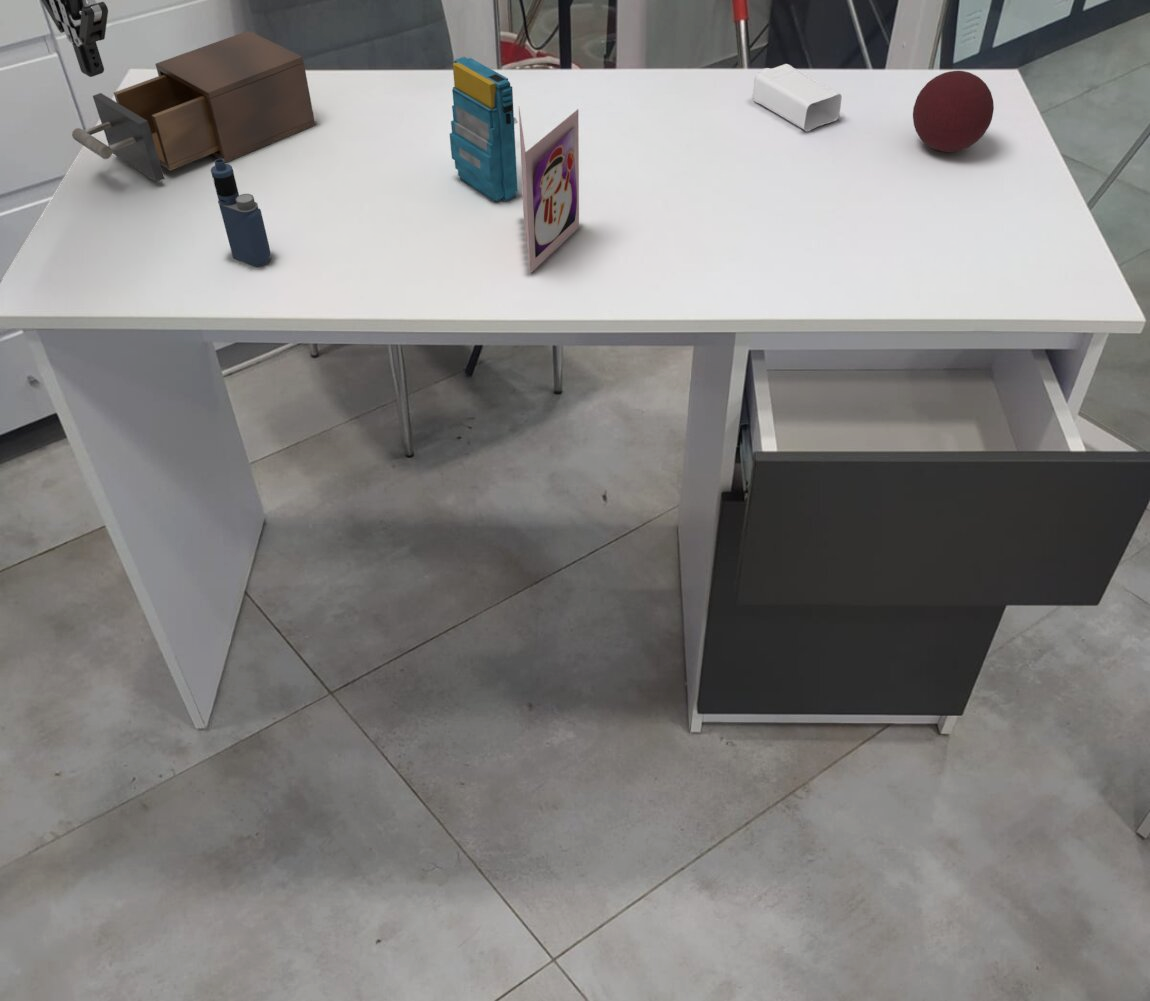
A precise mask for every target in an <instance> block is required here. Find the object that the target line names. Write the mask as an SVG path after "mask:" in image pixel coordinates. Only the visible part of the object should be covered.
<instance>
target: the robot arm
mask: <svg viewBox="0 0 1150 1001" xmlns="http://www.w3.org/2000/svg"><path fill="white" fill-rule="evenodd" d="M41 3H42V4H43V6H44V8H45V9H46V12H47V13H48V14H49V16H50V18H51V20H52V21H53V24H54V25H55V26H56V28H57V31H59V33H61V34H63V33H64V34H65V36H66V39H67V41H68V42H69V43H70V44H72V47H73V52H74V54H75V58H76V59H77V60H76V61H77V63H78V66H79V69H80V72H81V73H82V74H84V75H85V76H87V77H89V78H92V77H95V76H99V75H101V74H103V73H104V72H105V67H104V63H103V60H102V57H101V54H100V50H99V47H98V44H97V42H100V41H103V40H105V38H106V30H107V24H108V14H109V9H108V6H107V4H106V3H105V1H100V2H96V0H41Z"/></svg>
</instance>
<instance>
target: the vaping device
mask: <svg viewBox="0 0 1150 1001" xmlns="http://www.w3.org/2000/svg"><path fill="white" fill-rule="evenodd" d="M214 164H215V165H213V166H212V167H211V168H210V174H211V177H212V181H213V184H214V188H215V193H216V196H217V200H218V201H217V203H218V207H219V210H220V214H221V218H222V221H223V225H224V229H225V233H226V236H227V240H228V244H229V248H230V252H231V256H232V258H234V259H236V260H238V261H241V262H243V263H246V264H249V265H252V266H255V267H261V266H265V265H267V264H268V263H269V262H270V261H271V255H272V254H271V252H272V251H271V248H270V243H269V239H268V235H267V230H266V226H265V222H264V218H263V214H262V210H261V208H259V203H258V202H256V201H255V197H254V194H251V193H242V194H240V193H239V189H238V185H237V181H236V177H235V172H234V169H233V166H232V165H231V164H229V163H225V161H224V159H218V158H217V159H215V160H214Z"/></svg>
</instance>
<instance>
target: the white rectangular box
mask: <svg viewBox="0 0 1150 1001" xmlns="http://www.w3.org/2000/svg"><path fill="white" fill-rule="evenodd" d="M751 98H752V101H754V103H757V104H760V105H762V106H763V107H765V108H767V109H768V110H769V111H771V112H773V113H775V114H777V115H778V116H781V117H782V118H783V119H785V120H786V121H788V122H790V123H792V124H793V125H795V126H797V127H799V128H800V129H802V130H804V131H805V132H811V130H813V129H816V128H818V127H821V126H823V125H827V124H829V123H833V122H836V121H837V120H838V119H839V117H840V113H841V107H842V99H843V98H842V94H841V93H838V92H837V91H835V90H834V89H831V88H830V87H828V86H826V85H825V84H823V83H821V82H819V81H817V80H815V79H814V78H812V77H811V76H808V75H807V74H805V73H804V72H802V71H800V70H798V69H797V68H795V67H793V66H792V65H791V64H788V63H784V64H782V65H781V64H780V65H778V66H775V67H773V68H769V67H765V68H762V69H761V70H760V71H759V72H757V73H756V74H755V75H754V78H753V87H752V95H751Z"/></svg>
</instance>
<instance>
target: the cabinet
mask: <svg viewBox="0 0 1150 1001" xmlns="http://www.w3.org/2000/svg"><path fill="white" fill-rule="evenodd" d="M304 62H305V61H304V57H303V56H302V55H300V54H297V53H295V52H294V51H292V50H290V49H287V48H285V47H284V46H281V45H279V44H277V43H275V42H273V41H271V40H269V39H266V38H265V37H262V36H261V35H259V34H256V33H254V32H252V31H250V30H247V31H243V32H241V33H238V34H234V35H232V36H229V37H227V38H223V39H221V40H218V41H216V42H213V43H209V44H207V45H204V46H202V47H199V48H195V49H193V50H190V51H186V52H184V53H182V54H179V55H176V56H173V57H171V58H167V59H165V60H162V61H159V62H156V63H155V68H156V71H157V75H158V76H161V75H164V74H166V75H168V76H170V77H172V78H173V79H175V80H177V81H179V82H181V83H182V84H184V85H186V86H188V87H190V88H191V89H193V90H195V91H197V92H199V93H201V94H202V95H204V96H206V98H207V102H208V106H209V110H210V114H211V117H212V121H213V125H214V129H215V133H216V137H217V141H218V145H219V149H220V150H219V151H217V152H214V153H212V154H211V155H212V156H213V157H215V158H217V159H224V161H225V164H227V163H229V162H231V161H234V160H236V159H238V158H241V157H243V156H245V155H248V154H250V153H253V152H255V151H257V150H260V149H262V148H264V147H267V146H270V145H271V144H273V143H277V142H278V141H281V140H284V139H286V138H289V137H291V136H293V135H295V134H297V133H300V132H302V131H305V130H307V129H310V128H311V127H314V126H316V121H315V115H314V110H313V105H312V100H311V94H310V89H309V83H308V78H307V77H308V76H307V72H306V67H305V63H304ZM158 76H157V77H158Z"/></svg>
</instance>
